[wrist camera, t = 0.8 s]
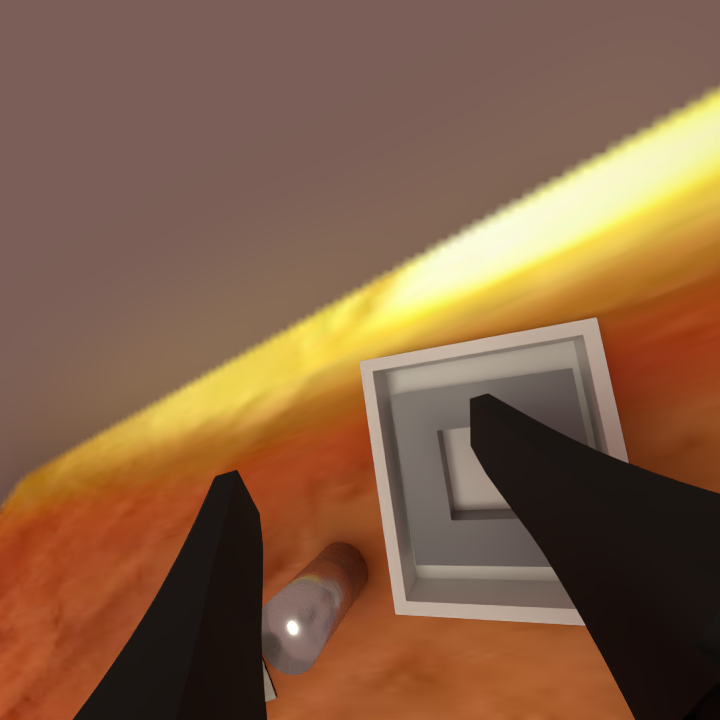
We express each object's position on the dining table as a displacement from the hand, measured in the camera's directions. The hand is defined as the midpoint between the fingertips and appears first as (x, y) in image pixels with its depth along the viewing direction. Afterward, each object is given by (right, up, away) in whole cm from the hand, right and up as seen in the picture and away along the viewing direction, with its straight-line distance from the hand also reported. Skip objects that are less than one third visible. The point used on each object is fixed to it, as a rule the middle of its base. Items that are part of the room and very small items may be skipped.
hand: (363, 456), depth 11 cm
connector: (-1, -13, +17) cm, 22 cm away
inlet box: (+9, -4, +14) cm, 17 cm away
